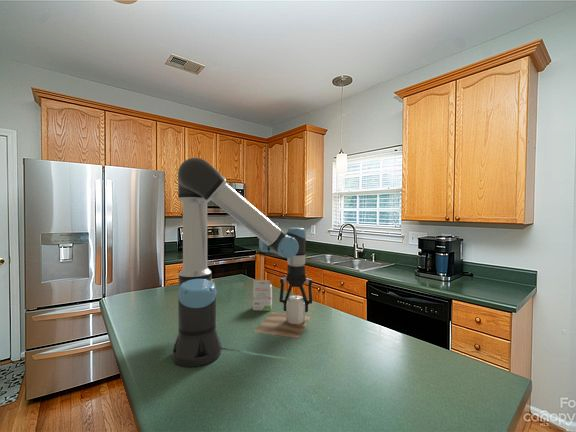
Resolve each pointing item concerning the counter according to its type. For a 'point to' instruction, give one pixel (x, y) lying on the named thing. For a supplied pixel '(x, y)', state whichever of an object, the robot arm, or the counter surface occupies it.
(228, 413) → the counter surface
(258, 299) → the ink box
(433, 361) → the counter surface
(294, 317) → the lidded container
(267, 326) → the board
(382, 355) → the counter surface
